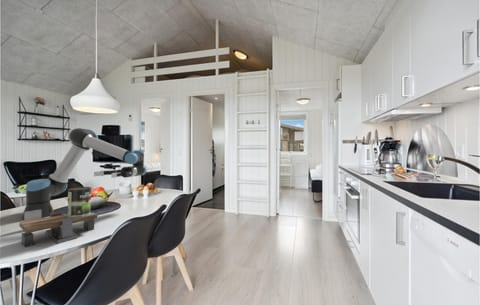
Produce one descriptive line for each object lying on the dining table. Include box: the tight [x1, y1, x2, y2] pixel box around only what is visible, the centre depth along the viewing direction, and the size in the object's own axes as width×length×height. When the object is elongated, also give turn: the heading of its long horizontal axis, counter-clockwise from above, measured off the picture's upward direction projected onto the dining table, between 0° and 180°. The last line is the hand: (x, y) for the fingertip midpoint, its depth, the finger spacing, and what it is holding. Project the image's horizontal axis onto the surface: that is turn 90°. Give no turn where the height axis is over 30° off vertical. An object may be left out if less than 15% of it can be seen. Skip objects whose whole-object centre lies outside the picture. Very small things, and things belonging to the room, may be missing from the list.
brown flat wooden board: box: [19, 211, 98, 233], centre depth 112 cm, size 15×28×2 cm, turn 144°
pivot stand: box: [21, 212, 95, 248], centre depth 112 cm, size 20×28×10 cm
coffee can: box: [67, 186, 92, 217], centre depth 118 cm, size 10×10×14 cm
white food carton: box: [23, 210, 42, 222], centre depth 121 cm, size 4×7×10 cm, turn 138°
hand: (103, 174), depth 135 cm, fingers open, 13 cm apart
